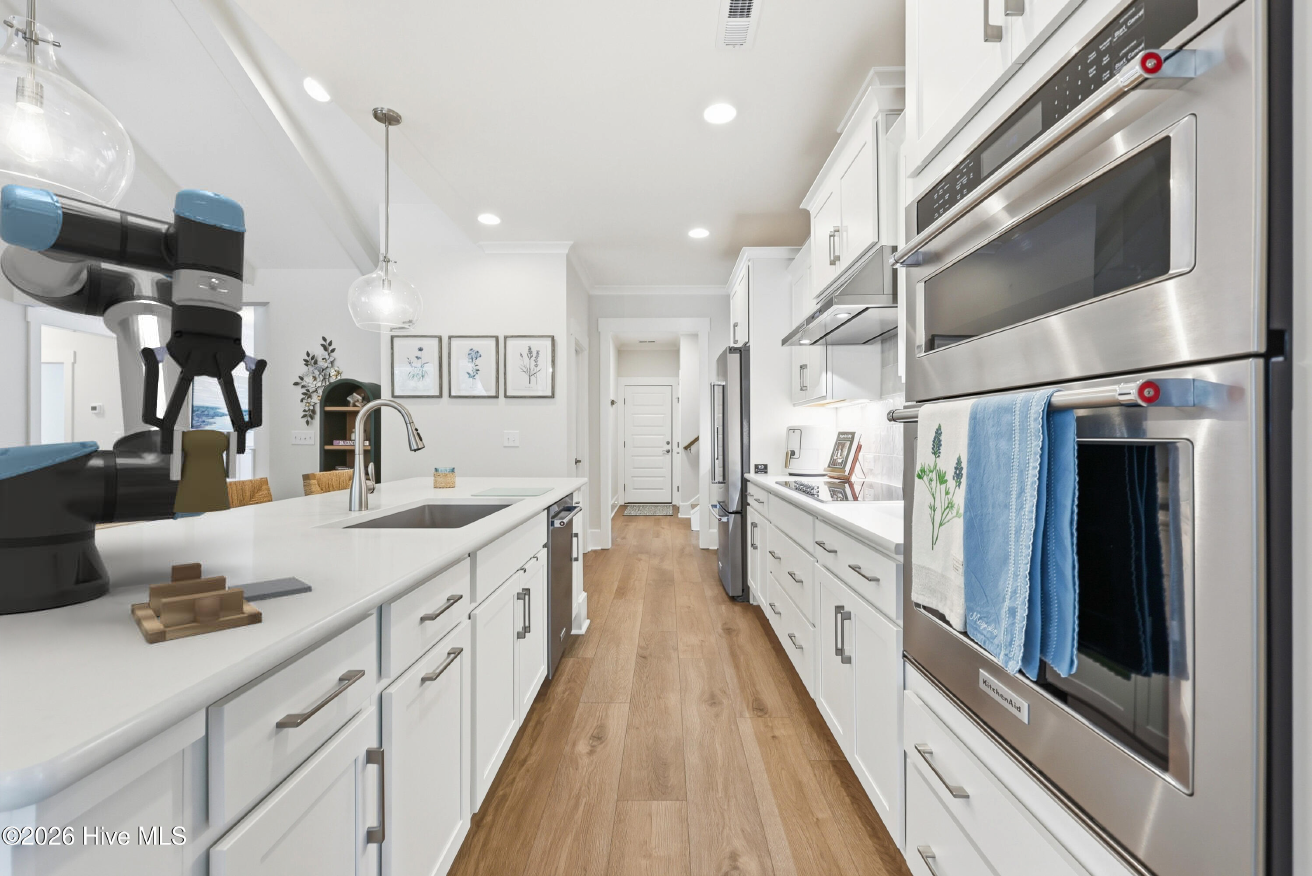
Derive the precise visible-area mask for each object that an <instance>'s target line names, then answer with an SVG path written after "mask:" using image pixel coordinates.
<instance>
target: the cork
mask: <svg viewBox="0 0 1312 876" xmlns="http://www.w3.org/2000/svg"><path fill="white" fill-rule="evenodd" d="M228 443H229V440H228V437H227V435H226V432H223V431H221V430H216V429H203V428H202V429H201V428H198V429H196V428H195V429H190V430H189V431H186V432H184V433H183V434H182V444H181V450H182V451H183V452H184V459H183V464H182V469H181V479H180V480H179V484H178V489H177V494H176V499H175V505H174V510H173V512H177V513H200V512H206V513H212V512H213V513H215V512H223V511H228V510H231V503H230V495H229V488H228V481H227V479H228V478H226V472H225V458H224V453H226V450H227V448H228Z"/></svg>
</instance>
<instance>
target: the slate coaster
mask: <svg viewBox="0 0 1312 876" xmlns="http://www.w3.org/2000/svg"><path fill="white" fill-rule="evenodd" d="M234 588H241V589H243V590H244V600H245V601H247V602H248V603H249V602H255V601H262V600H267V598H268V599H272V598H271V597H274V598H278V597H284V596H290V594H292V595H296V594H303V592H304V593H308V591H310V592H312V585H310V584H308V583H306V582H304V581H303V580H301V579H299V578H297V577H295V576H291V577H284V578H276V579H270V580H263V581H256V582H251V583H243V584H234V585H229V586H227V590H228V589H234ZM261 599H262V600H261Z"/></svg>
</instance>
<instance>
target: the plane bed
mask: <svg viewBox="0 0 1312 876" xmlns="http://www.w3.org/2000/svg"><path fill="white" fill-rule="evenodd" d="M202 567H203V565H202V564H201V563H200V562H191V563H183V564H175V565H171V570H170V571H171V573H170V582H165V583H157V584H150V585H148V587H149V591H148V601H147V602H141V603H133V604H131V607H130V608H131V612H130V614H131V613H132V614H131V616H132V615H133V616H132V617H133V619H134V618H135V619H134V621H135V620H136V621H135V623H136V622H137V623H136V624H137V626H138V625H139V626H138V628H139V629H141V630H140V631H141V633H142V632H143V633H142V635H143V637H144V636H145V637H144V638H145V640H146V642H147V641H148V642H147V644H148V643H151V644H155V643H161V642H165V641H171V640H170V639H172V640H176V639H177V640H178V639H180V638H186V637H187V638H188V637H192V636H197V635H201V634H202V635H203V634H207V633H212V632H217V631H222V630H227V629H233V628H234V629H235V628H238V627H243V626H249V625H254V624H259V623H262V621H263V612H261V611H260V610H259V609H258V608H256V607H254V605H252V604H251V603H249V602H247V601H245V600H244V590H243V589H241V588H234V589H228V588H227V577H226V576H224V575H217V576H211V577H209V576H207V577H202ZM226 588H227V589H226ZM157 616H160V618H159V617H157ZM159 619H160V620H159Z"/></svg>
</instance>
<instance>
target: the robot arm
mask: <svg viewBox="0 0 1312 876" xmlns="http://www.w3.org/2000/svg"><path fill="white" fill-rule="evenodd" d="M174 201H175V203H174V207H173V208H172V213H173V216H174V217H173V218H174V219H173V222H170V221H165V220H162V219H157V218H154V217H150V216H146V215H142V214H138V213H133V212H130V211H125V210H121V209H117V208H114V207H113V208H112V207H109V206H107V205H102V204H98V203H95V202H90V201H87V200H82V199H78V198H74V197H70V196H66V195H63V194H59V193H55V192H52V191H50V190H47V189H44V188H40V189H39V188H34V187H29V186H23V185H18V184H14V183H11V184H5V185H4V186H2V187H1V190H0V239H1V240H2V241H3V243H6V244H7V246H6V247H5V248H4V249H3V251H2V253H1V257H0V268H1V271H2V274H3V275H4V277H5V278H6V280H7V281H8V283H10V284H11V285H12V286H13V287H14V288H15V289H17V291H19V292H21V293H22V294H24V295H26V296H28V297H29V298H31V299H33V300H34V301H37V302H39V303H42V304H44V305H46V306H49V307H51V308H55V309H57V310H62V311H65V312H69V313H73V314H79V315H83V316H84V315H85V316H87V315H88V316H92V317H99V318H102V320H103V321H102V322H103V324H104V326H105V327H106V329H107V330H108V331H110V332H111V333H112V334H115V336H116V339H115V340H116V348H117V349H116V350H117V359H118V360H117V361H118V371H119V375H118V376H119V384H120V386H119V387H120V399H121V409H122V410H121V411H122V412H121V413H122V419H123V420H122V421H123V433H124V434H123V435H122V436H120V437H119V438H117V439H116V440H115V441H114V442H113V444H112V449H100V445H99V444H98V442H97V441H95V440H89V441H88V440H87V441H86V440H85V441H71V442H57V443H46V444H33V445H23V446H21V445H20V446H10V447H9V446H8V447H0V615H1V614H12V613H23V612H31V611H38V610H44V609H50V608H57V607H62V606H66V605H72V604H77V603H81V602H85V601H89V600H93V599H96V598H99V597H102V596H104V595H106V594H107V593H109V592H110V581H111V578H110V575H109V572H108V570H107V568H106V566H105V563H104V561H103V558H102V556H101V555H100V551H99V550H98V547H97V546H96V525H107V524H120V523H121V524H122V523H135V522H152V521H166V520H173V521H176V520H178V519H186V518H195V517H196V518H197V517H200V516H203V515H205V514H206V513H207V512H200V513H177V512H173V510H174V505H175V499H176V494H177V489H178V484H179V480H180V479H181V469H182V464H183V459H184V452H183V451H182V450H181V444H182V434H183V433H184V432H186V431H189V430H191V425H190V424H191V423H190V417H189V408H188V403H187V395H188V392H189V390H190V388H191V385H192V383H193V381H194V379H195V377H199V378H200V377H208V378H211V379H216V381H217V383H218V385H219V387H220V392H221V394H222V396H223V398H222V399H223V401H224V404H225V408H226V410H227V413H228V417H229V421H230V424H231V427H232V429H233V431H226V432H225V434H226V435H227V437H228V440H229V443H228V448H227V450H226V451H225V458H224V464H225V472H226V479H228V480H229V479H230V480H231V479H233V480H235V479H237V455H244V454H245V453H246V448H247V447H246V446H247V445H246V444H247V433H248V431H250V430H252V429H256V428H257V429H258V428H261V426H262V425H263V375H264V373H265V370H266V368H267V366H268V362H267V360H266V359H263V358H261V359H258V358H257V357H253V356H251V355H248V354H247V353H246V351H245V349H244V347H243V345H242V343H243V341H242V339H243V338H242V337H243V316H241V314H240V312H241V311H243V307H244V305H243V301H244V300H243V295H244V293H243V290H244V289H243V288H244V267H245V264H244V262H245V260H244V258H245V237H246V236H245V235H246V234H245V233H247V228H246V224H245V223H246V222H245V212H244V211H245V210H244V208H243V207H242V206H241V204H240V203H238V202H237V201H236V200H234V199H232V198H230V197H228V196H225V195H223V194H220V193H217V192H213V191H207V190H204V189H195V188H190V189H189V188H188V189H182V190H179V191H178V192H177V193H176V194H175V199H174ZM241 363H243V364H244V365H245V366H244V367H245V368H244V369H245V371H246V372H248V375H247V376H248V377H247V393H248V394H247V420H246V419H245V416H244V413H243V408H242V405H241V401H240V398H239V395H238V392H237V390H236V386H235V380H234V376H233V371H234V370H236V368H237V367H238V366H239V365H240V364H241Z"/></svg>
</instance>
